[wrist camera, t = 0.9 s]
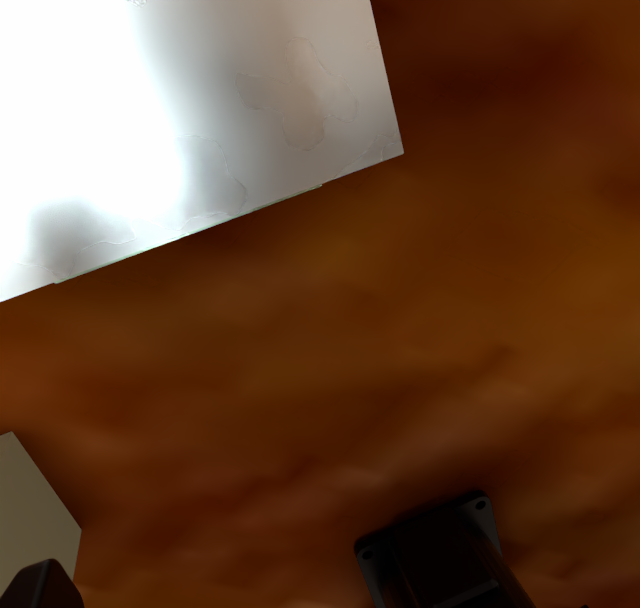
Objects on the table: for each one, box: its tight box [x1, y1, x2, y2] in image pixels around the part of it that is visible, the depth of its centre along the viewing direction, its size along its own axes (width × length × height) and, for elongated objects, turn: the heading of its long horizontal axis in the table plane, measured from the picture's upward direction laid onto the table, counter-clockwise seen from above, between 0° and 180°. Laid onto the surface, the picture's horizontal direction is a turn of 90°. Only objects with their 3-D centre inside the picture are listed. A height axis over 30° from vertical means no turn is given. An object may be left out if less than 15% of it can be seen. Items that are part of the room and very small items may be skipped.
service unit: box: [0, 0, 404, 302], centre depth 14 cm, size 7×12×6 cm, turn 107°
